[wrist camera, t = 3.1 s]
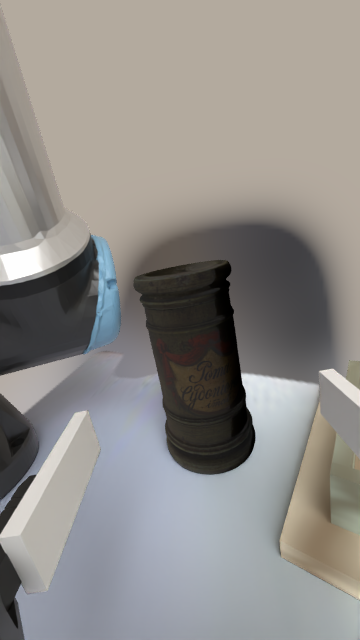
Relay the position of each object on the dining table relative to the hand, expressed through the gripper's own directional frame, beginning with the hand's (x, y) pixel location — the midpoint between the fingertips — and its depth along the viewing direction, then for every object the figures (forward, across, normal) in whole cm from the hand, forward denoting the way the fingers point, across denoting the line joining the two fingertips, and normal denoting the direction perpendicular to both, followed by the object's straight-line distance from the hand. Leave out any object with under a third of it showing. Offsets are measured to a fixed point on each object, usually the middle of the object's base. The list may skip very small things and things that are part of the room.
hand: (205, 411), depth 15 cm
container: (+10, 0, -11) cm, 15 cm away
